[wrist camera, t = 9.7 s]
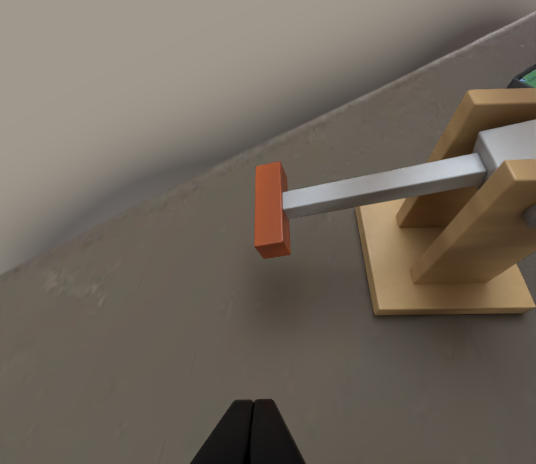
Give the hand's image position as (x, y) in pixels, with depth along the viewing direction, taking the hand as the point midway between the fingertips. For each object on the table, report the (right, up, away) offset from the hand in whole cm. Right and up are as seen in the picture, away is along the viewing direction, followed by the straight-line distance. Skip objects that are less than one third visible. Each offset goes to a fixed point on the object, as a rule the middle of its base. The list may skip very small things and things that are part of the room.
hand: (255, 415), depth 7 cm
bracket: (+11, +2, +15) cm, 19 cm away
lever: (+6, +6, +9) cm, 12 cm away
